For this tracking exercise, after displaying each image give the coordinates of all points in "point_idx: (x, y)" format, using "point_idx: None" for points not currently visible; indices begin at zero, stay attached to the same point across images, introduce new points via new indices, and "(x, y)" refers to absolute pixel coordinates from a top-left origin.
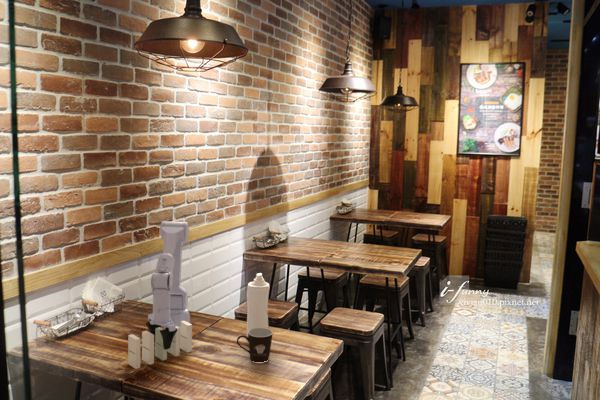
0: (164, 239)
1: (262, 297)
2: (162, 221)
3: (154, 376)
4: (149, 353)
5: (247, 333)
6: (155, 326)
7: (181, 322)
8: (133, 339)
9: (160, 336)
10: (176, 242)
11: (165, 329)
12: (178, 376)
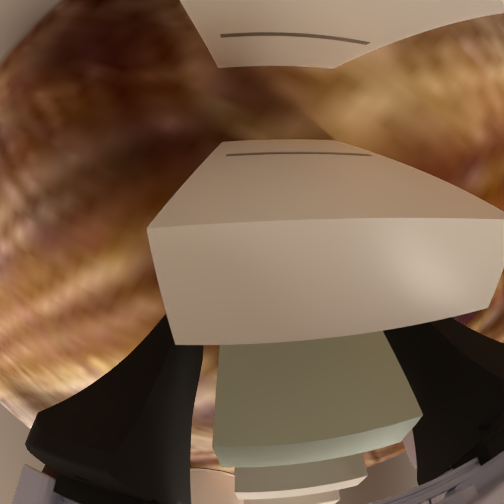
0: None
1: None
2: None
3: (57, 110)
4: (216, 151)
5: (217, 486)
6: (446, 418)
7: (326, 500)
8: None
9: (281, 378)
10: None
11: (127, 496)
12: (18, 222)
